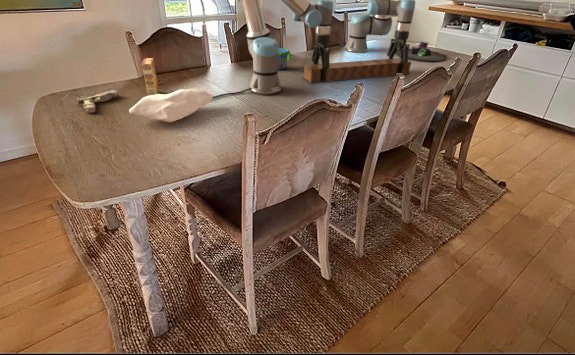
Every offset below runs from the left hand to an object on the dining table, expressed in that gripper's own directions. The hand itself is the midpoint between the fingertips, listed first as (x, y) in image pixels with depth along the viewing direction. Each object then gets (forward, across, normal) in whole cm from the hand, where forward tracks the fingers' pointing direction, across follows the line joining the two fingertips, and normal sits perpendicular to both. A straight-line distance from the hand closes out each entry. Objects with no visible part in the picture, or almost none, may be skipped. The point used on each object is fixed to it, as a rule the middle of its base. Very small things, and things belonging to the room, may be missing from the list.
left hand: (318, 78), depth 195 cm
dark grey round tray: (0, +30, -91) cm, 96 cm away
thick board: (0, 0, -24) cm, 24 cm away
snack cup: (+1, +25, +14) cm, 28 cm away
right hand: (0, 0, -49) cm, 49 cm away
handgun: (+1, -6, +106) cm, 106 cm away
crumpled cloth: (+1, -26, +79) cm, 83 cm away
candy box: (+1, -1, +85) cm, 85 cm away
